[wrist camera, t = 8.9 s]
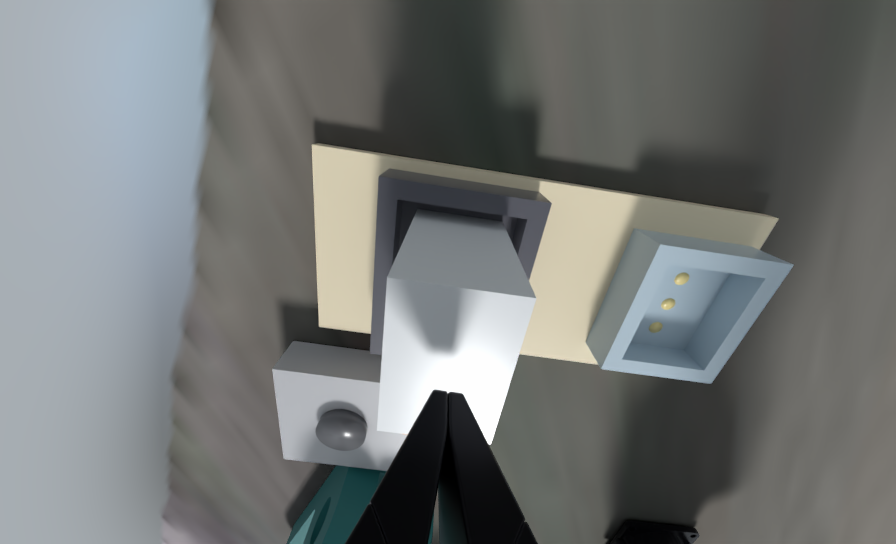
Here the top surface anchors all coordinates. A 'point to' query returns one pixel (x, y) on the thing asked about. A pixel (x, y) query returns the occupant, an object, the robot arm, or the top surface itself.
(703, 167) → the top surface
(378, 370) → the grey knob block
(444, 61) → the top surface
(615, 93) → the top surface
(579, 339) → the board
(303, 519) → the bracket
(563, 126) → the top surface
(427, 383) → the plug
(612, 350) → the header 3pin
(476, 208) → the frame
